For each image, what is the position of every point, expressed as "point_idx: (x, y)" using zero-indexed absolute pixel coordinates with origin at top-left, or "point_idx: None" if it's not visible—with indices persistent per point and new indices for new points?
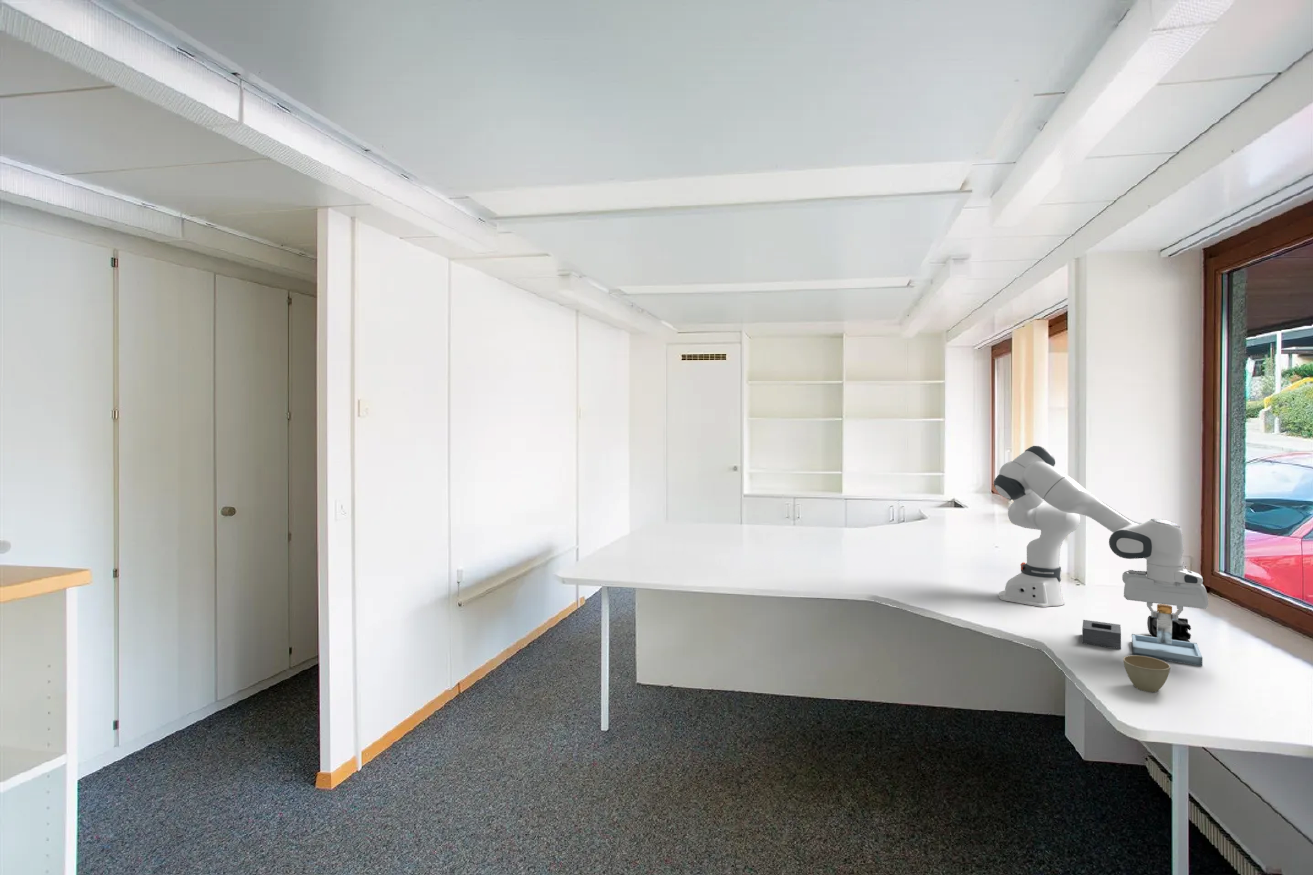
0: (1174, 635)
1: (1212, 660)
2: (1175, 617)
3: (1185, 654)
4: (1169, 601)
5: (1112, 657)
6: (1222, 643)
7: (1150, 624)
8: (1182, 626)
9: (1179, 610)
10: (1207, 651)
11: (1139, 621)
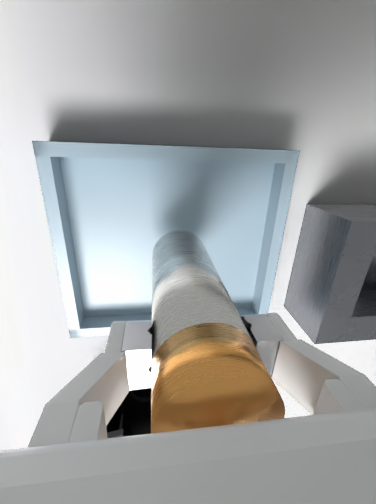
0: (138, 398)
1: (24, 242)
2: (129, 332)
3: (103, 153)
4: (194, 486)
5: (366, 69)
6: (21, 420)
7: None
8: None
9: (84, 392)
10: (49, 331)
11: None
